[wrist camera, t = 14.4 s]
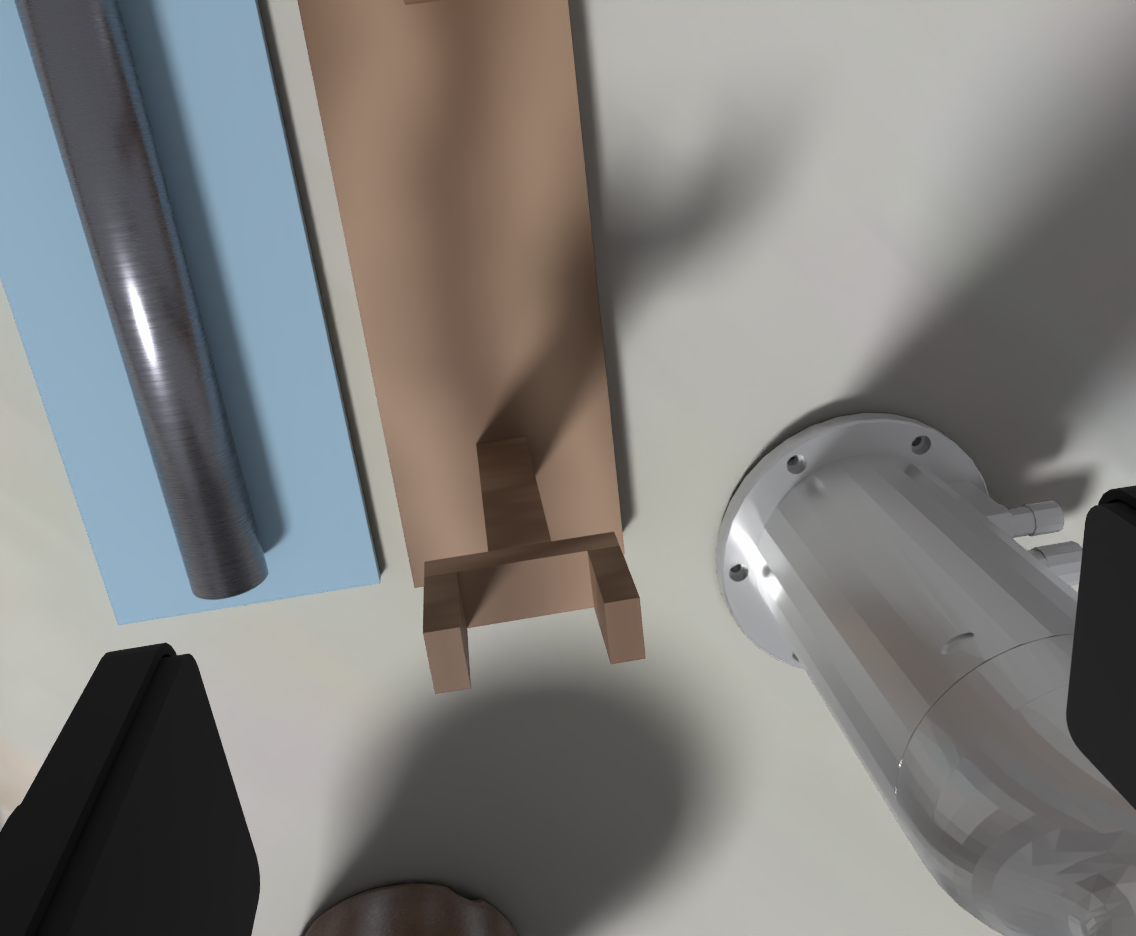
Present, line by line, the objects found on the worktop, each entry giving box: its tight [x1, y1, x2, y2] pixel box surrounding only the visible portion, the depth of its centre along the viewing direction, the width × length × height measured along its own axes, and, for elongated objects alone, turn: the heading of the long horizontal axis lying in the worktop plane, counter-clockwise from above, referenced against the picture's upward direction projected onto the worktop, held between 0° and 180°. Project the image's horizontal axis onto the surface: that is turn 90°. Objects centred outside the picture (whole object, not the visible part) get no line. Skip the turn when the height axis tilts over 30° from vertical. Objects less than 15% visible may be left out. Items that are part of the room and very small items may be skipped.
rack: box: [298, 0, 645, 694], centre depth 31 cm, size 9×28×15 cm, turn 7°
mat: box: [0, 0, 381, 625], centre depth 36 cm, size 11×32×1 cm, turn 6°
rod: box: [14, 0, 268, 600], centre depth 35 cm, size 28×3×3 cm, turn 6°
